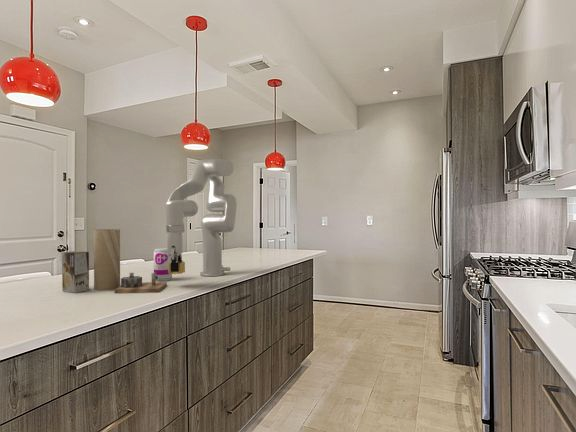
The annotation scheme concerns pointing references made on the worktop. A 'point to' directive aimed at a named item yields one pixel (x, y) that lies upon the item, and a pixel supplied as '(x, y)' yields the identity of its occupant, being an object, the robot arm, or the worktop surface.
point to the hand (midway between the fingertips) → (176, 269)
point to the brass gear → (181, 268)
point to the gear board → (139, 285)
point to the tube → (106, 259)
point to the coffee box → (75, 271)
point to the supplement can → (161, 264)
